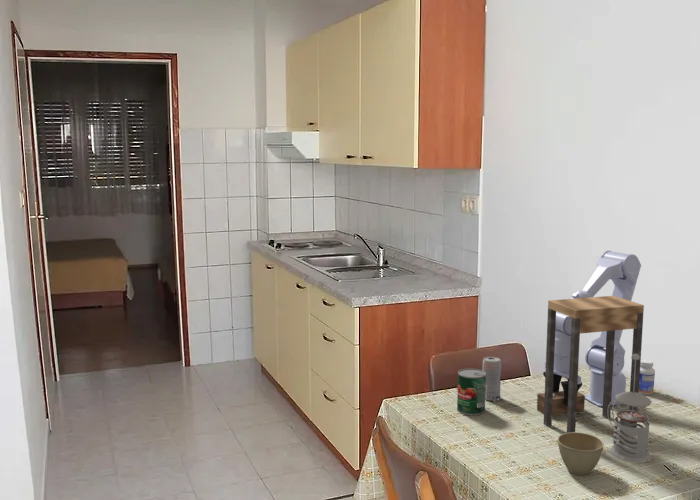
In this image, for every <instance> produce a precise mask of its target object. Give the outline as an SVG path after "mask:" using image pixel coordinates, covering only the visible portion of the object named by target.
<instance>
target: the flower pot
mask: <svg viewBox="0 0 700 500" xmlns="http://www.w3.org/2000/svg"><path fill="white" fill-rule="evenodd" d="M557 445H558V450H559V453H560V454H559V455H560V457H561V459H562V461H563V464H564V466H565V467H566V469H567V470H568V472H570V473H571V474H573V475H578V476H587V475H589V474H591V473H592V472H593V471H594V469H595V468H596V467H597V465H598V463H599V461H600V459H601V456H602V454H603V451H604V442H603V440H602V439H601V438H599V437H597V436H596V435H592V434H589V433H585V432H577V431H575V432H569V433H567V432H565V433H562V434H560V435H559V436H558V437H557Z"/></svg>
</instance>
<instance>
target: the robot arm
mask: <svg viewBox="0 0 700 500" xmlns="http://www.w3.org/2000/svg"><path fill="white" fill-rule="evenodd" d="M596 263H597V265H596V266H597V267H596V269H595V270H594V272H593V273H592V274H591V276H590V278H589V279H588V281H587V282H586V284H585V285H584V287H583V288H582V290H578V291H575V292H573V294H572V295H571V297H570V298H569V299H576V298H590V297H595V295H596V294H598V292H599V291H601V289H602V288H603V287H604V286H605V285H606V284H607V282H609V281H610V280H611V281H612V282H613V285H614V288H613V292H612V294H611V296H616V297H619V298H622V299H625V300H629V301H632V299H633V296H634V292H635V289H636V285H637V282H638V279H639V276H640V271H641V268H642V263H641V262H640V259H639V258H638V256H637V255H636V254H632V253H630V254H629V253H624V252H623V253H622V252H618V251H612V250H605V251H604V252H603V253H602V254H601V255H600V257H599V258H598V259H597V262H596ZM571 321H572V317H570V316H567V315H565V314H562V313H560V312H557V311H556V327H555V352H554V377H553V392H558V391H560V386H561V387H562V391H564V403H565V406H568V389H569V366H570V343H571ZM623 331H624V330H615V341H614V359H613V378H612V397H611V401H613V400H616V398H615V397H616V395H618V394H620V393H623V392H627V391H626V388H627V380H626V376H625V374H624V373H623V371H622V370H623V369H624V367H625V356H626V350H625V348H624V347H623V345H622V344H621V343H620V341H621V337H622V334H623ZM606 334H607V331H603V332H600V336H598V337H597V338H595V339H594V340H592V341H591V344H590V346H589V348H588V349H587V351H586V353H585V357H584V358H585V359H584V360H585V363H586V364H587V365H588V369H589V370H590V383H589V384H590V385H589V387H590V388H589V394H588V395H585V400H587V401H589V402H591V403H592V404H594V405H596V406H597V407H603V392H604V373H605V354H606ZM544 369H545V370H546V361H545V362H544ZM545 373H546V371H543V373H542V375H543V376H544V378H545ZM563 378H564V379H566V380H564V381H562V379H563ZM582 386H583V382H582V376H580V375H578V384H577V392H579V390H580V388H581V387H582ZM614 402H615V401H613V402H612V403H611V406H613V404H614ZM620 404H621V403H620V402H618V405H620ZM618 405H617V401H616V402H615V404H614V406H618Z"/></svg>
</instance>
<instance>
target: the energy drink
mask: <svg viewBox="0 0 700 500" xmlns="http://www.w3.org/2000/svg"><path fill="white" fill-rule="evenodd" d="M482 371H484V372H486V391H485V393H486V394H485V401H491V402H493V401H494V402H495V401H499V400H500V399H501V379H502V361H501V358H500V357H497V356H484V357H483V360H482Z"/></svg>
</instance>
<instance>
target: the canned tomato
mask: <svg viewBox="0 0 700 500" xmlns="http://www.w3.org/2000/svg"><path fill="white" fill-rule="evenodd" d="M485 391H486V372H484V371H483V369H477V368H463V369H459V370H458V371H457V393H456V395H457V400H456V402H457V403H456V405H457V406H456V410H457V412H459V413H460V414H464V415H468V416H479V415H482V414H484V413H485V412H486V400H485V394H486V393H485Z"/></svg>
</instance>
